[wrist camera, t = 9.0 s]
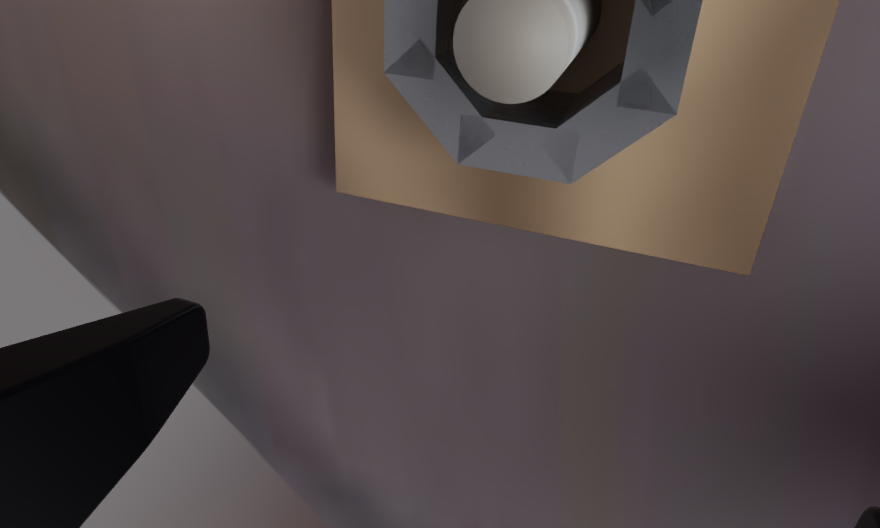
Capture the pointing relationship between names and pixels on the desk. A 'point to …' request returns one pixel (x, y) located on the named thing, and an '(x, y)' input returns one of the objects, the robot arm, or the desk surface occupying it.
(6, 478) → the robot arm
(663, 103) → the ring
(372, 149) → the post block
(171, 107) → the desk surface
